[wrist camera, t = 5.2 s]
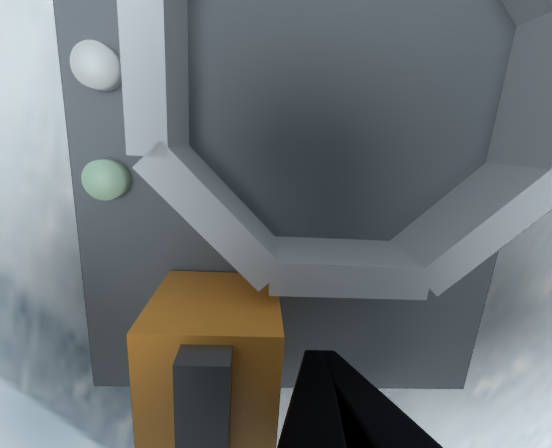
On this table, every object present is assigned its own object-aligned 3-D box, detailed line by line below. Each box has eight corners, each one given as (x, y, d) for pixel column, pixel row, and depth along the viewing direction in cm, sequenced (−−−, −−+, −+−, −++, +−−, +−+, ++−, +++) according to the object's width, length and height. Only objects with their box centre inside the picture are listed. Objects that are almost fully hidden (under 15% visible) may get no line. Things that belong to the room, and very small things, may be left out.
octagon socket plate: (522, -75, 9) (723, -236, 5) (431, 350, 13) (508, 444, 9) (84, -124, 8) (-72, -361, 4) (120, 345, 12) (54, 445, 8)
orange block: (276, 273, 9) (287, 357, 6) (269, 379, 10) (275, 507, 7) (169, 270, 9) (112, 355, 5) (172, 378, 10) (126, 509, 6)
